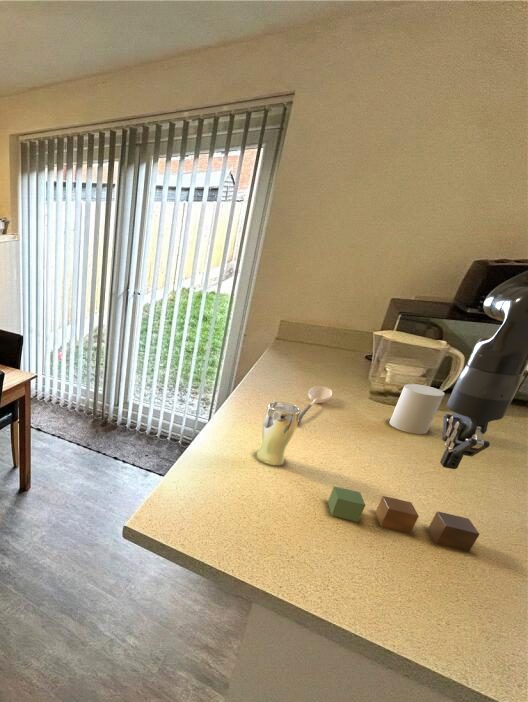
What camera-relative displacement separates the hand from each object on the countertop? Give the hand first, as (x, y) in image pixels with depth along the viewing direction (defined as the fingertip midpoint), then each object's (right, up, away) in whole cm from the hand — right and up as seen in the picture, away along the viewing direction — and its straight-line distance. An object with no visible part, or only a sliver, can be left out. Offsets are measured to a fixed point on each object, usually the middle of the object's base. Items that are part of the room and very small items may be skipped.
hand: (447, 466), depth 81 cm
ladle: (+4, +9, +44) cm, 45 cm away
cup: (+25, +4, +34) cm, 42 cm away
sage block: (-20, -10, +2) cm, 23 cm away
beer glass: (-24, -2, +20) cm, 31 cm away
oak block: (-13, -11, -1) cm, 17 cm away
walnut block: (-6, -13, -6) cm, 16 cm away
